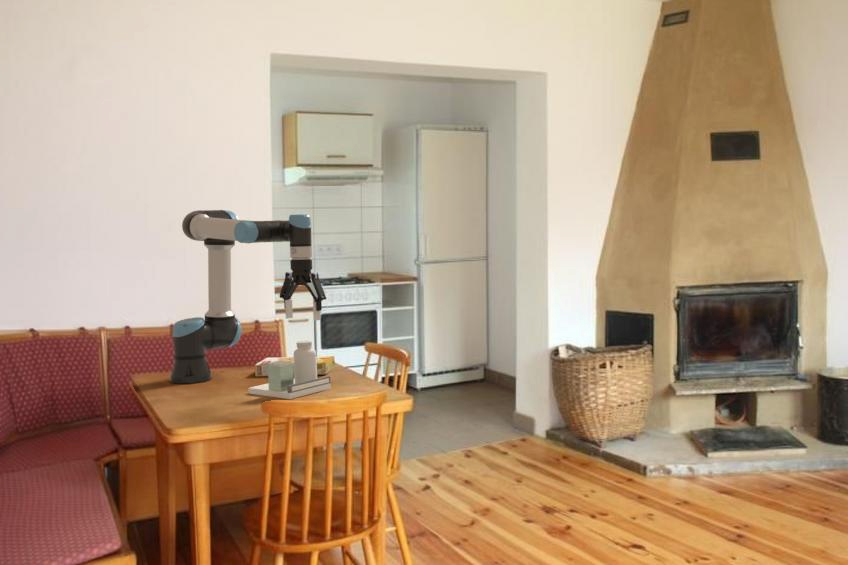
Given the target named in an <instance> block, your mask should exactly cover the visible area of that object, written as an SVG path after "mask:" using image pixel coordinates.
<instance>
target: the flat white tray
mask: <svg viewBox="0 0 848 565" xmlns="http://www.w3.org/2000/svg"><path fill="white" fill-rule="evenodd" d="M331 388H332V386H331V376H330V375H327V376H323V377H317V379H314V380H310V381H306V382H301V383H297V384H295V378H294V384H293V385H289V386H287V390H285V391H275V390H269V383H264V384H260V385H254V386H251V387H248V394H249V395H250V394H251V395H255V396H256V395H257V396H263V397H264V396H265V397H272V398H279V399H285V400H292V399H296V398H300V397H303V396H308V395H312V394H316V393H318V392H324V391H327V390H331Z"/></svg>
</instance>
